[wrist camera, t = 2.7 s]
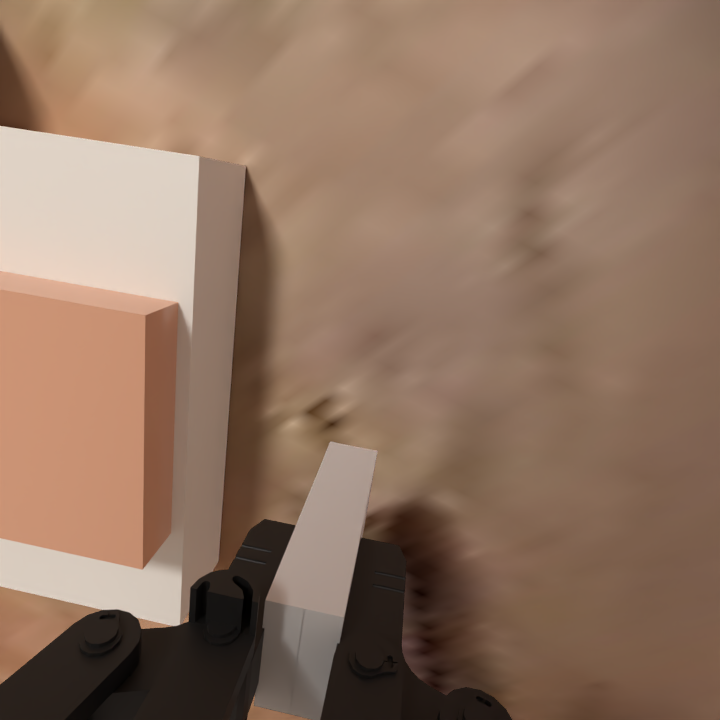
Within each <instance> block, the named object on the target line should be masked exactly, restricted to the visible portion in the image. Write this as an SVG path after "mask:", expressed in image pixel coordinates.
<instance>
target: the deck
mask: <svg viewBox="0 0 720 720" xmlns="http://www.w3.org/2000/svg"><path fill="white" fill-rule="evenodd" d="M245 174H246V166H244V165H239V164H234V163H229V162H225V161H220V160H215V159H210V158H205V157H201V156H194V155H188V154H181V153H175V152H168V151H162V150H155V149H148V148H142V147H135V146H129V145H122V144H116V143H109V142H103V141H96V140H89V139H83V138H76V137H70V136H63V135H57V134H50V133H43V132H37V131H30V130H24V129H17V128H11V127H4V126H0V271H4V272H10V273H15V274H21V275H27V276H32V277H38V278H44V279H49V280H55V281H61V282H66V283H72V284H78V285H83V286H89V287H95V288H100V289H106V290H112V291H117V292H123V293H129V294H134V295H140V296H146V297H151V298H157V299H163V300H168V301H174V302H178V330H177V362H176V393H175V424H174V456H173V487H172V518H171V534H170V535H169V536H168V538H167V539H166V540H165V542H164V543H163V544H162V545H161V547H160V548H159V549H158V551H157V552H156V553H155V554H154V556H153V557H152V558H151V560H150V561H149V562H148V563H147V565H146V566H145V567H144V569H143V570H142V569H137V568H133V567H128V566H124V565H119V564H115V563H110V562H106V561H101V560H97V559H92V558H88V557H83V556H79V555H74V554H69V553H65V552H60V551H56V550H51V549H47V548H42V547H38V546H33V545H29V544H24V543H20V542H15V541H11V540H6V539H2V538H0V586H1V587H6V588H10V589H14V590H19V591H23V592H27V593H32V594H36V595H41V596H45V597H49V598H54V599H58V600H62V601H67V602H71V603H75V604H80V605H84V606H89V607H93V608H97V609H102V610H113V609H118V610H122V611H126V612H130V613H131V614H132V615H133V616H134V617H137V618H141V619H145V620H150V621H154V622H158V623H163V624H167V625H171V626H178V625H181V624H182V623H183V621H184V619H185V618H186V616H187V614H188V613H189V605H190V587H191V586H192V585H193V584H194V583H195V582H196V581H197V580H198V579H199V578H201V577H203V576H205V575H206V574H208V573H210V572H212V571H213V570H214V568H215V566H216V565H217V563H218V561H219V549H220V534H221V520H222V505H223V491H224V477H225V462H226V448H227V433H228V419H229V404H230V390H231V376H232V361H233V347H234V332H235V318H236V303H237V289H238V275H239V260H240V246H241V231H242V217H243V202H244V188H245Z"/></svg>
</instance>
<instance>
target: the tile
mask: <svg viewBox="0 0 720 720" xmlns="http://www.w3.org/2000/svg"><path fill="white" fill-rule="evenodd" d="M177 330H178V302H174V301H168V300H163V299H157V298H151V297H146V296H140V295H134V294H129V293H123V292H117V291H112V290H106V289H100V288H95V287H89V286H83V285H78V284H72V283H66V282H61V281H55V280H49V279H44V278H38V277H32V276H27V275H21V274H15V273H10V272H4V271H0V538H2V539H6V540H11V541H15V542H20V543H24V544H29V545H33V546H38V547H42V548H47V549H51V550H56V551H60V552H65V553H69V554H74V555H79V556H83V557H88V558H92V559H97V560H101V561H106V562H110V563H115V564H119V565H124V566H128V567H133V568H137V569H142V570H143V569H144V567H145V566H146V565H147V563H148V562H149V561H150V560H151V558H152V557H153V556H154V554H155V553H156V552H157V551H158V549H159V548H160V547H161V545H162V544H163V543H164V542H165V540H166V539H167V538H168V536H169V535H170V534H171V518H172V487H173V456H174V424H175V393H176V362H177Z"/></svg>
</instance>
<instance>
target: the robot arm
mask: <svg viewBox="0 0 720 720" xmlns="http://www.w3.org/2000/svg"><path fill="white" fill-rule="evenodd" d="M376 457H377V451H376V450H371V449H366V448H361V447H355V446H350V445H345V444H340V443H335V442H330V443H329V446H328V448H327V451H326V453H325V456H324V458H323V461H322V463H321V465H320V468H319V470H318V473H317V475H316V478H315V480H314V482H313V485H312V487H311V490H310V492H309V495H308V497H307V500H306V502H305V504H304V507H303V509H302V512H301V514H300V517H299V519H298V522H297V524H296V526H295V525H291V524H286V523H281V522H276V521H271V520H267V519H264V520H263V521H261V522H260V523H259V524H257V525H256V526H254V527H253V528H252V529H250V531H249V533H248V534H247V536H246V538H245V540H244V542H243V544H242V547H240V549H239V551H238V553H237V555H236V558H235V559H234V560H233V562H232V564H231V566H230V567H229V569H228V570H219V571H215V572H210V573H208V574H206V575H205V576H203V577H201V578H199V579H198V580H197V581H196V582H195V583H194V584H193V585H192V586H191V587H190V605H189V622H186V623H183V624H181V625H178V626H172V627H166V628H150V629H141V627H140V624H139V621H138V619H137V618H136V617H134V616H133V615H132V614H131V613H130V612H126V611H122V610H118V609H113V610H102V611H99V612H96V613H92V614H89V615H87V616H85V617H84V618H82V619H81V620H79V621H77V622H76V623H74V624H73V625H72V626H71V627H69V628H68V629H67V630H66V631H65V632H63V633H62V634H61V635H60V636H59V637H57V638H56V639H55V640H54V641H53V642H51V643H50V644H49V645H48V646H46V647H45V648H44V649H43V650H42V651H40V652H39V653H38V654H37V655H36V656H34V657H33V658H32V659H31V660H30V661H28V662H27V663H26V664H25V665H24V666H22V667H21V668H20V669H19V670H18V671H16V672H15V673H14V674H13V675H11V676H10V677H9V678H8V679H7V680H5V681H4V682H3V683H2V684H1V685H0V720H247V715H248V712H249V709H250V706H251V703H252V700H253V697H254V695H255V701H254V706H258V707H262V708H266V709H270V710H274V711H278V712H283V713H287V714H291V715H295V716H299V717H304V718H308V719H312V720H512V719H511V717H510V715H509V714H508V712H507V710H506V709H505V708H504V707H503V706H502V705H501V704H500V703H499V702H498V701H497V700H496V699H495V698H494V697H492V696H490V695H488V694H486V693H485V692H483V691H481V690H477V689H472V688H467V687H465V688H460V689H455V690H453V691H452V692H450V693H449V694H448V695H447V696H446V695H444V694H442V693H441V692H439V691H437V690H435V689H433V688H432V687H430V686H428V685H427V684H425V683H424V682H423V681H421V680H420V679H419V678H418V677H417V676H416V675H415V674H414V673H413V672H412V671H411V670H410V668H409V667H408V665H407V663H406V662H405V659H404V656H403V653H402V644H401V643H402V627H403V610H404V591H405V576H406V559H405V557H404V555H403V553H402V551H401V549H400V546H398V545H394V544H389V543H384V542H379V541H374V540H370V539H365V538H362V536H363V530H364V525H365V520H366V514H367V508H368V503H369V497H370V491H371V486H372V480H373V474H374V469H375V463H376Z"/></svg>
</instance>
